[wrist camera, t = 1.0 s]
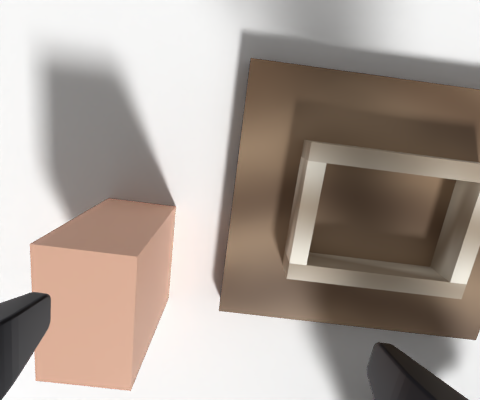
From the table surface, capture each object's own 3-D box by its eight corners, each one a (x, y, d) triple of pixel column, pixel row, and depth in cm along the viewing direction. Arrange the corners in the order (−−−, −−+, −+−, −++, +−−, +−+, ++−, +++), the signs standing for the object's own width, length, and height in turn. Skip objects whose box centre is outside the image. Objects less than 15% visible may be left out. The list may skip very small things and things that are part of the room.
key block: (168, 298, 23) (130, 390, 15) (106, 291, 22) (35, 380, 15) (175, 206, 21) (137, 256, 13) (108, 198, 21) (30, 244, 13)
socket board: (461, 326, 23) (499, 361, 20) (220, 298, 22) (216, 330, 19) (539, 102, 19) (603, 98, 16) (250, 62, 19) (252, 50, 15)
